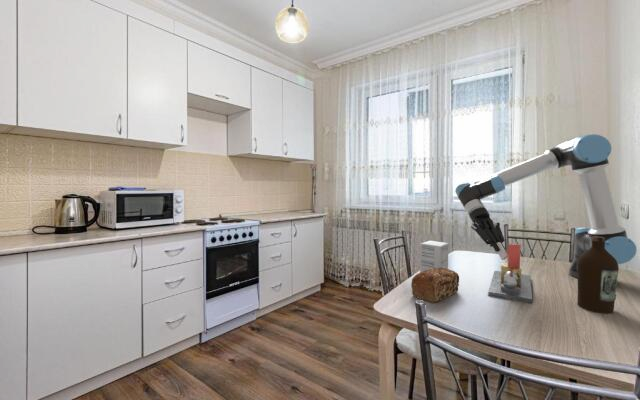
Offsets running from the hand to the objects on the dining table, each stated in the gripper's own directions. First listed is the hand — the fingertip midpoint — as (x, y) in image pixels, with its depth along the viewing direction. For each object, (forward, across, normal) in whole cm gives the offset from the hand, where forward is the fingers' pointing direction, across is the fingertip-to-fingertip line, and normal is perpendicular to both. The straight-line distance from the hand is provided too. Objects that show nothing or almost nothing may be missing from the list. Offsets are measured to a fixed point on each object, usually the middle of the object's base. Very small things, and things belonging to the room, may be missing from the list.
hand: (505, 258), depth 120 cm
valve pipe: (+6, -9, -14) cm, 18 cm away
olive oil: (+23, -20, +3) cm, 31 cm away
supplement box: (-4, +18, -25) cm, 31 cm away
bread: (+7, +28, -13) cm, 32 cm away
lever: (+1, -5, -3) cm, 6 cm away
